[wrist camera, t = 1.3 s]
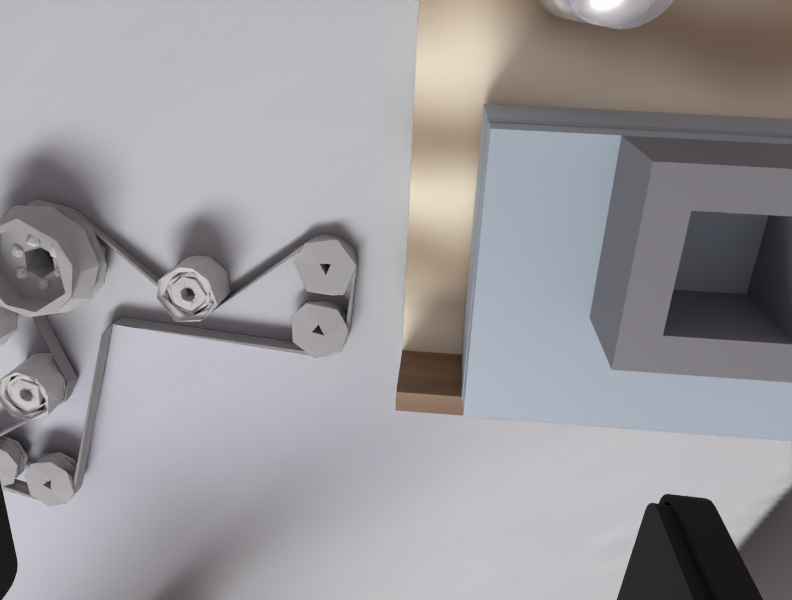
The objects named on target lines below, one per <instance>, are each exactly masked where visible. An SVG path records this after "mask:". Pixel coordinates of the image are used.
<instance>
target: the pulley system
mask: <svg viewBox="0 0 792 600" xmlns="http://www.w3.org/2000/svg"><path fill="white" fill-rule="evenodd" d="M96 235H97V236H98V237H99V238H100V239H102V240H103V241H104V242H105V243H106V244H107V245H109V246H110V247H111V248H112V249H113V250H115V251H116V252H117V253H118V254H119V255H120V256H122V257H123V258H124V259H125V260H126V261H128V262H129V263H130V264H131V265H132V266H134V267H135V268H136V269H137V270H138V271H139V272H141V273H142V274H143V275H144V276H145V277H147V278H148V279H149V280H150V281H151V282H152V283H154V284H155V285H156V286H157V287H158V291H157V298H158V300H159V301H160V302H161V304H162V305H163V306H164V308H165V309H166V311H167V312H168V313H169V315H170V316H171V317H172V319H173V320H174V321H175V322H187V321H199V322H200V321H201V320H203V319H204V318H205V317H206V316H207V315H208V314H209V313H211V312H212V311H214V310H215V309H217V308H218V307H219V306H221V305H222V304H224V303H225V302H227V301H228V300H230V299H231V298H233V297H234V296H235V295H237V294H238V293H240V292H241V291H243V290H244V289H246V288H247V287H248V286H250V285H251V284H253V283H254V282H256V281H257V280H259V279H260V278H262V277H263V276H264V275H266V274H267V273H269V272H270V271H272V270H273V269H275V268H276V267H277V266H279V265H280V264H282V263H283V262H285V261H286V260H288V259H289V258H291V257H292V256H293V255H295V254H296V253H298V252H299V251H300V253H299V255H298V256H297V258H296V260H295V262H294V264H295V266H296V268H297V271H298V273H299V275H300V278H301V280H302V282H303V285H304V287H305V289H306V291H307V292H313V293H320V294H326V295H344V293H345V292H346V290H347V288H348V287H349V285H350V284H351V291H350V298H349V306H348V313H346V312H344V311H343V310H342V309H341V308H340V307H339V306H338V305H336V304H335V303H334V302H333V301H307V302H306V303H305V304H304V305H303V306H302V307H301V308H300V309H299V310H298V311H297V312H295V313H294V314H293V315H292V316H291V322H292V338H293V342H290V341H284V340H277V339H270V338H263V337H256V336H250V335H243V334H236V333H229V332H222V331H216V330H209V329H202V328H195V327H188V326H182V325H175V324H168V323H161V322H154V321H148V320H141V319H134V318H127V317H122V318H120V319H119V320H117V321H116V322H114V323H113V324H115V325H121V326H128V327H134V328H140V329H147V330H153V331H159V332H166V333H172V334H178V335H185V336H191V337H197V338H204V339H210V340H216V341H223V342H229V343H235V344H242V345H248V346H254V347H261V348H267V349H273V350H280V351H286V352H292V353H299V354H305V355H311V356H313V357H314V358H319V357H325V356H329V355H332V354H335V353H338V352H341V351H342V349H343V347H344V345H345V344H346V342H347V339H348V336H349V334H350V330H351V323H352V312H353V302H354V292H355V281H356V271H357V258H356V253H355V252H354V249H353V248H352V247H351V245H349V244H348V243H347V242H346V241H345V240H343V239H342V238H340V237H338V236H334V235H328V234H322V235H317V236H315V237H313V238H311V239H309V240H308V241H306V242H305V243H303V244H302V245H301V246H299V247H298V248H297V249H295V250H294V251H292V252H291V253H290V254H288V255H287V256H285V257H284V258H283V259H281V260H280V261H279V262H277V263H276V264H274V265H273V266H271V267H270V268H268V269H267V270H266V271H264V272H263V273H261V274H260V275H258V276H257V277H255V278H254V279H253V280H251V281H250V282H248V283H247V284H245V285H244V286H242V287H241V288H240V289H238V290H237V291H235V292H234V293H232V294H231V295H230V296H228V294H229V293H230V292H231V291H230V285H229V279H228V274H227V272H226V271H225V270H224V269H223V267H222V266H221V265H219V264H218V263H217V262H215V261H214V260H213V259H212V258H211V257H207V256H202V255H197V256H189V257H187V258H186V259H184V260H183V261H182V262H181V263H180V264H178V265H177V266H176V267H174V268H173V269H172V270H170V271H168V272H167V273H166V274H165V275H164V276H163V277H161V278H159V277H158V276H156V275H155V274H154V273H153V272H151V271H150V270H149V269H148V268H147V267H145V266H144V265H143V264H142V263H140V262H139V261H138V260H137V259H136V258H134V257H133V256H132V255H131V254H130V253H128V252H127V251H126V250H125V249H123V248H122V247H121V246H120V245H119V244H117V243H116V242H115V241H114V240H113V239H111V238H110V237H109V236H108V235H106V234H105V233H104V232H103V231H102V230H100V229H99V228H98V227H97V226H96V225H94V224H93V223H92V222H91V221H89V220H88V219H87V218H86V217H85V216H83V215H82V214H81V213H80V212H79V211H77V210H76V209H73V208H70V207H67V206H65V205H62V204H58V203H53V202H49V201H45V200H35V201H30V202H29V203H27V204H25V205H14V206H13V207H12V208H11V209H10V210H9V211H8V212H7V213H6V214H5V215H4V216H2V217H1V218H0V346H1V345H3V344H4V343H6V342H7V341H8V340H9V338H10V337H11V336H12V335H13V333H14V332H15V331H16V330H17V329H18V326H17V313H19V314H21V315H23V316H26V317H32V318H33V319H34V321H35V323H36V325H37V327H38V329H39V331H40V333H41V334H42V336H43V338H44V340H45V342H46V344H47V346H48V347H49V349H50V351H51V353H35V354H34V355H32V356H31V357H30V358H28V359H27V360H26V361H24V362H23V363H22V364H20V365H19V366H18V367H16V368H15V369H14V370H12V371H11V372H10V373H9V374H7V375H6V376H4V377H3V378H2V379H1V380H0V402H1V404H2V405H3V406H4V407H5V409H6V410H7V411H8V413H9V414H10V415H11V416H13V417H17V418H20V419H23V420H21V421H19V422H17V423H15V424H13V425H11V426H9V427H7V428H5V429H3V430H1V431H0V481H1V486H2V489H5V490H8V491H11V492H14V493H17V494H21V495H24V496H27V497H30V498H33V499H37V500H40V501H41V502H43V503H44V504H46V505H48V506H53V505H58V504H65V503H66V502H67V501H69V500H70V499H71V498H72V497H73V496H74V494H75V493H76V492H77V491H78V490H79V489H80V487H81V485H82V483H83V478H84V473H85V468H86V462H87V457H88V452H89V447H90V441H91V436H92V431H93V426H94V420H95V415H96V410H97V405H98V400H99V394H100V389H101V384H102V379H103V373H104V368H105V363H106V358H107V352H108V347H109V342H110V337H111V332H112V326H113V324H111V325H110V326H109V327H108V328H107V329H106V330H105V331H104V333H103V334H102V337H101V342H100V347H99V352H98V358H97V363H96V368H95V373H94V378H93V384H92V389H91V394H90V399H89V404H88V409H87V415H86V420H85V425H84V430H83V435H82V441H81V446H80V451H79V456H78V461H77V463H76V462H75V460H74V459H72V458H70V457H69V456H67V455H65V454H63V453H61V452H56V453H44V454H41V455H40V457H39V459H38V460H37V462H36V463H33V464H31V465H30V467H29V469H28V472H27V474H26V476H25V478H26V481H27V482H24V481H21V480H17V479H15V478H16V477H17V476H19V475H20V474H21V473H22V472H23V471H24V468H25V465H26V462H27V459H28V455H27V454H26V452H25V451H24V449H23V448H22V447H21V445H20V444H19V442H18V441H16V440H13V439H10V438H8V437H5V436H2V435H4V434H6V433H8V432H10V431H12V430H13V429H15V428H17V427H19V426H21V425H23V424H24V423H26V422H28V421H31V420H34V419H37V418H41V417H44V416H47V415H49V414H50V413H51V412H52V411H53V410H54V408H55V407H56V406H58V405H60V404H62V403H63V402H65V401H66V400H67V399H68V398H69V397H70V396H71V394H72V392H73V389H74V387H75V385H76V382H77V380H78V378H77V376H76V374H75V372H74V370H73V368H72V366H71V364H70V363H69V361H68V359H67V357H66V355H65V353H64V351H63V349H62V347H61V345H60V343H59V341H58V340H57V338H56V336H55V334H54V332H53V330H52V328H51V326H50V324H49V322H48V320H47V318H46V317H45V315H48V314H55V313H64V312H70V311H72V310H74V309H75V308H77V307H78V306H80V305H82V304H84V303H88V302H89V301H90V300H91V299H92V297H93V296H94V295H95V294H96V292H97V291H98V290H99V289H100V288H101V286H102V285H103V284H104V281H105V272H106V267H107V264H106V249H105V248H104V246H103V245H102V244H101V242H100V241H99V240H98V238H97V236H96ZM44 249H45V250H46V251H48V252H49V253H50V255H51V256H52V257H53V262H54V265H53V264H52V263H51V261H50V259H49V257H48V256H47V254H46V252H45V250H44ZM325 264H331V265H330V267H329V269H328V268H327V266H326V265H325ZM351 281H352V283H351ZM227 296H228V297H227ZM226 297H227V298H226Z"/></svg>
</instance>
